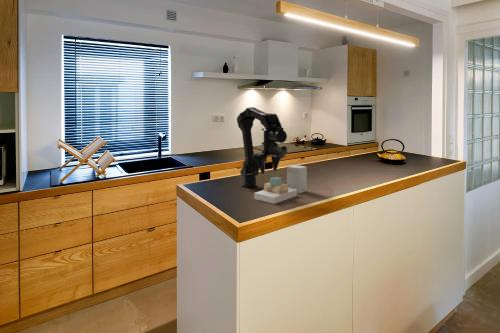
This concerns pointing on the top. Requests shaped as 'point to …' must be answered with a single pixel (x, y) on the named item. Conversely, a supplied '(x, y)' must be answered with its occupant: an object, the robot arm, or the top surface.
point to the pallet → (276, 188)
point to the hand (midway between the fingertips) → (269, 172)
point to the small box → (297, 178)
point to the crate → (275, 181)
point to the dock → (274, 196)
